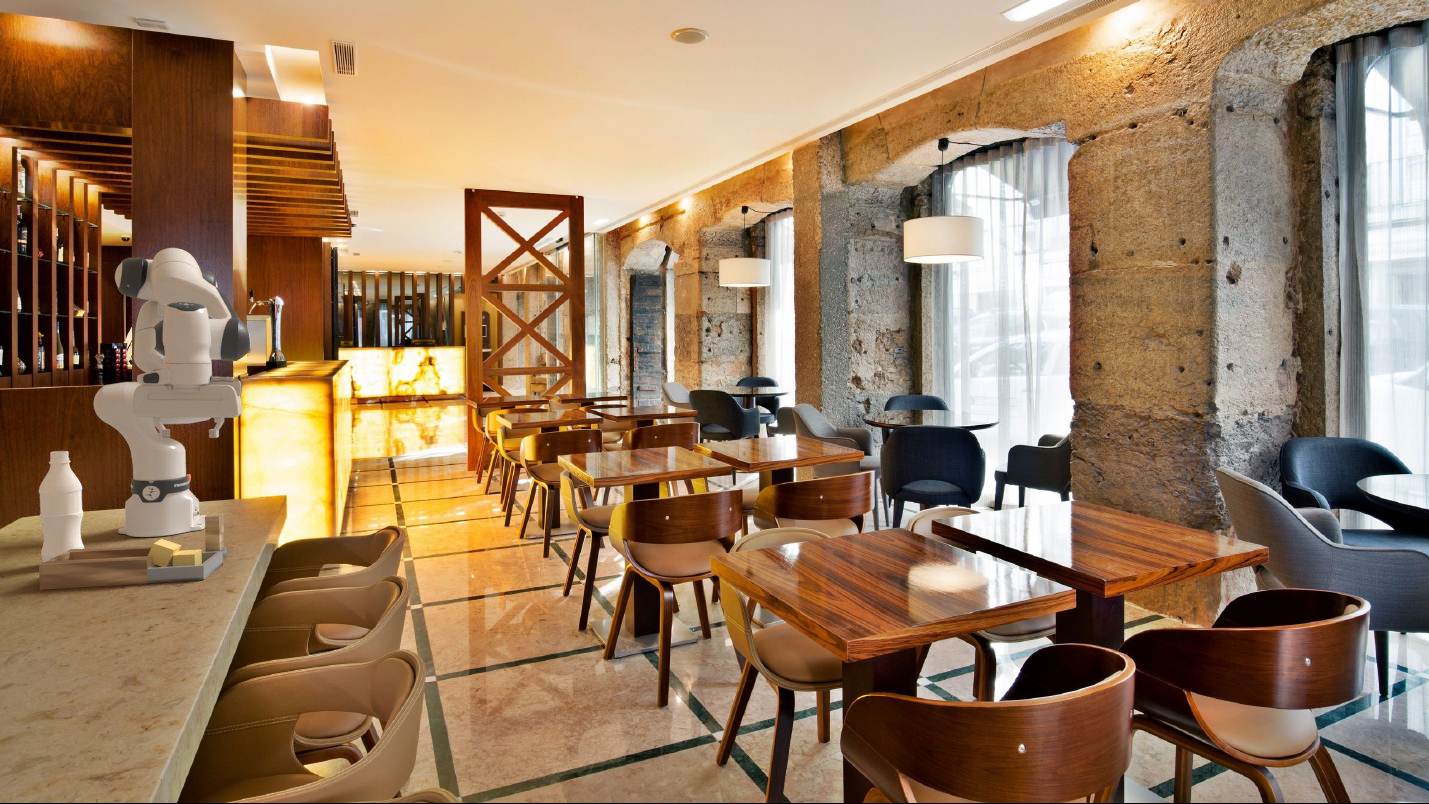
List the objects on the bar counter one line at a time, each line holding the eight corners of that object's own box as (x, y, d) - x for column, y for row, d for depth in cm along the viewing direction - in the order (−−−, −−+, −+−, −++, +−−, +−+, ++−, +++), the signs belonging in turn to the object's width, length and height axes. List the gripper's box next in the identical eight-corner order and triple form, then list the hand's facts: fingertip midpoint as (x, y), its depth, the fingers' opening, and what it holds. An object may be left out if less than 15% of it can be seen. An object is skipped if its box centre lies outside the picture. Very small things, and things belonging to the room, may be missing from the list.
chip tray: (170, 567, 165) (170, 553, 165) (222, 564, 168) (222, 551, 168) (147, 583, 154) (146, 568, 154) (203, 580, 157) (203, 565, 157)
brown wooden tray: (71, 572, 160) (70, 549, 160) (170, 567, 165) (169, 544, 165) (40, 589, 149) (39, 564, 148) (147, 583, 154) (146, 559, 154)
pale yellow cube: (180, 550, 163) (201, 549, 164) (180, 568, 163) (201, 567, 164) (172, 555, 159) (194, 554, 160) (173, 573, 159) (195, 572, 160)
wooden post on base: (212, 557, 174) (211, 512, 173) (226, 556, 174) (226, 512, 174) (202, 564, 168) (201, 518, 167) (218, 563, 169) (217, 517, 168)
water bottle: (59, 570, 161) (55, 454, 160) (32, 568, 163) (28, 453, 161) (93, 561, 168) (89, 450, 167) (67, 559, 170) (63, 449, 168)
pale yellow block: (153, 556, 161) (161, 538, 161) (173, 562, 162) (181, 545, 162) (145, 561, 157) (153, 543, 157) (165, 567, 158) (174, 550, 158)
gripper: (245, 375, 174) (246, 435, 175) (140, 374, 167) (142, 435, 169) (237, 377, 168) (238, 439, 169) (128, 375, 162) (130, 439, 163)
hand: (189, 437), depth 169 cm, fingers open, 8 cm apart
